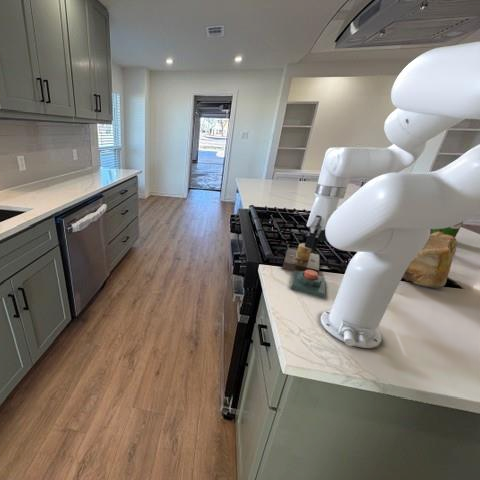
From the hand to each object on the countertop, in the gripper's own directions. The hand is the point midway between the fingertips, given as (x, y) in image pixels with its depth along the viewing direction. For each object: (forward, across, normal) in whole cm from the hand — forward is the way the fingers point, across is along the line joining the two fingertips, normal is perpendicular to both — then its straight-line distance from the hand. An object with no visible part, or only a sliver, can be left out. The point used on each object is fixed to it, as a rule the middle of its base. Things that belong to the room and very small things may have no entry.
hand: (315, 244), depth 82 cm
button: (+10, +4, +2) cm, 11 cm away
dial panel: (+12, -8, -5) cm, 16 cm away
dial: (+9, -8, -5) cm, 13 cm away
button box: (+13, +4, +2) cm, 14 cm away
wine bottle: (+12, -90, +32) cm, 96 cm away
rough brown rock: (+13, -33, +25) cm, 43 cm away
